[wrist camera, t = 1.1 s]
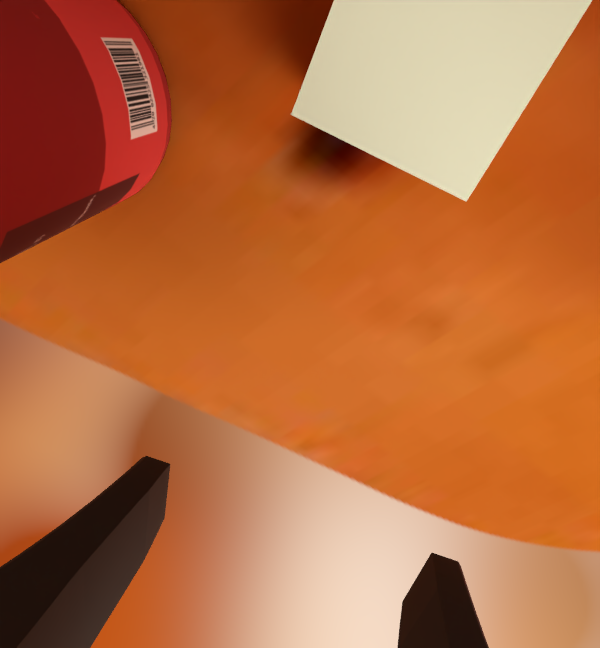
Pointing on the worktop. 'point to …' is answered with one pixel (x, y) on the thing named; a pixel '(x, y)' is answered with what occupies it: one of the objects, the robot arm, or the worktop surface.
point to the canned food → (74, 115)
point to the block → (432, 79)
